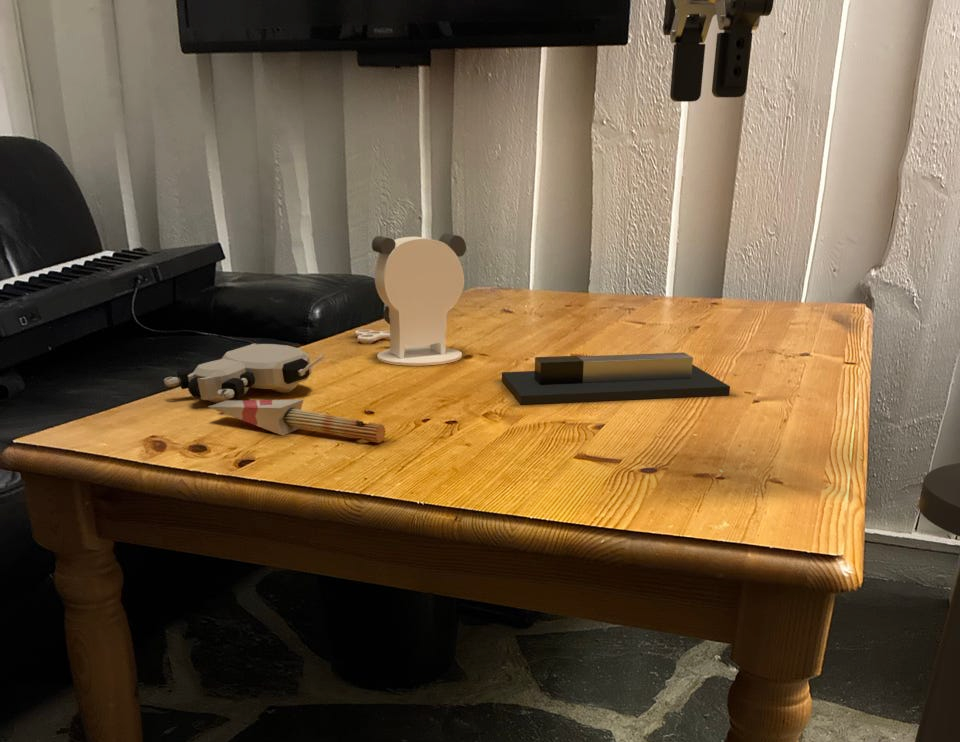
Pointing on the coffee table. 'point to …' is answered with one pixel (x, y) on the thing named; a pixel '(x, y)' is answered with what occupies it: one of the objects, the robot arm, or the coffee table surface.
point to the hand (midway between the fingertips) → (705, 99)
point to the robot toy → (246, 372)
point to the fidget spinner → (371, 335)
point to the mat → (612, 388)
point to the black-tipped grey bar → (612, 368)
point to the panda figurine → (419, 296)
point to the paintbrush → (298, 419)
